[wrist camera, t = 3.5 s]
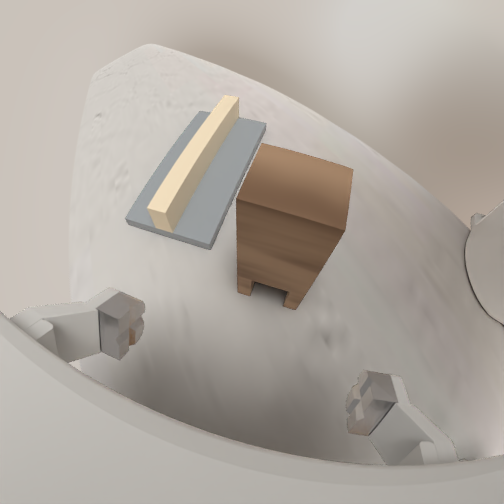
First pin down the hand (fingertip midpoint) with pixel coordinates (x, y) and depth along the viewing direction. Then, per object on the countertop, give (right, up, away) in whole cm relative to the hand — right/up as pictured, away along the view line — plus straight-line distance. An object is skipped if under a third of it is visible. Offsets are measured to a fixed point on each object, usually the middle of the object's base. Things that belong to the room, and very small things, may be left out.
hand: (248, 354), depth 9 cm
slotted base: (-6, +14, +24) cm, 28 cm away
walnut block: (+2, +1, +18) cm, 18 cm away
